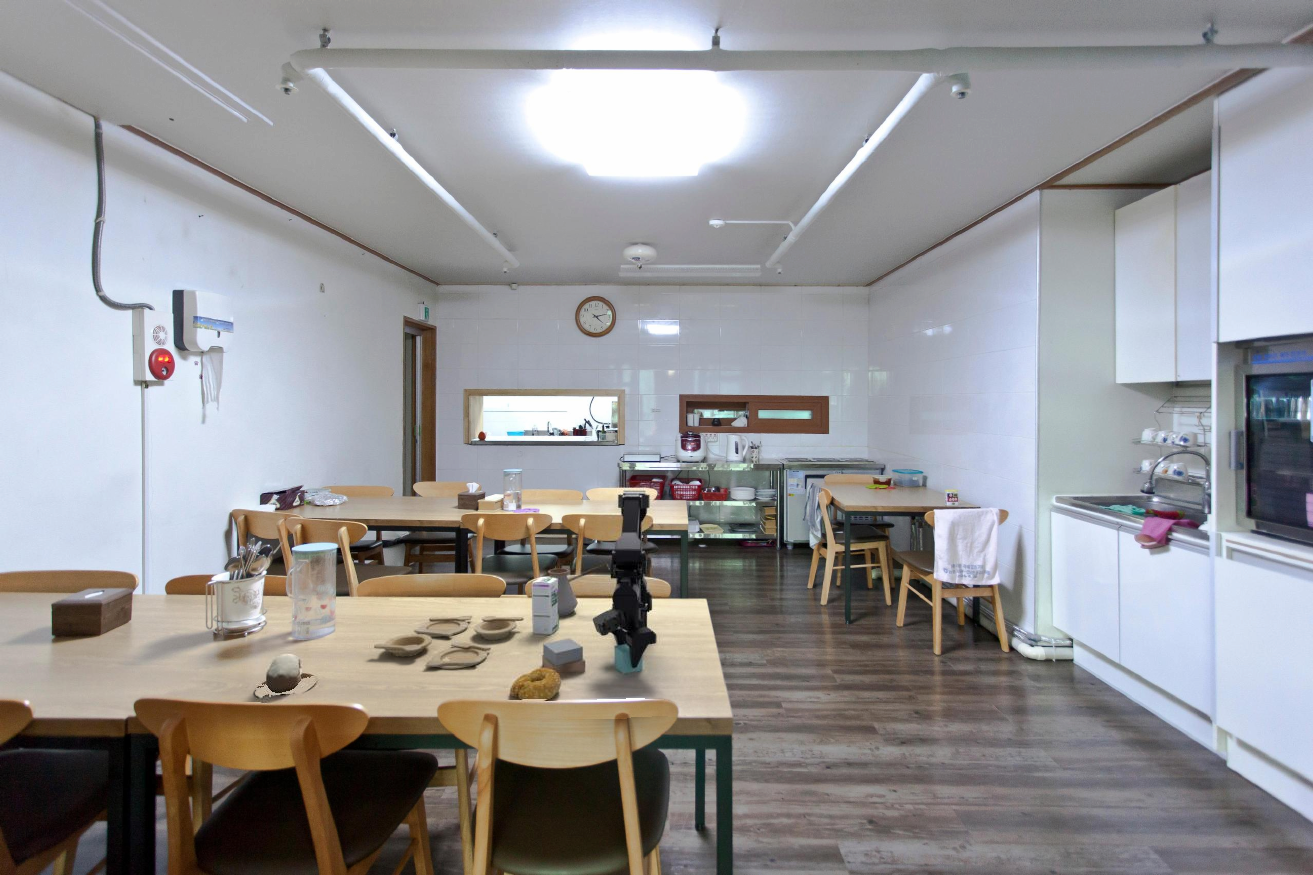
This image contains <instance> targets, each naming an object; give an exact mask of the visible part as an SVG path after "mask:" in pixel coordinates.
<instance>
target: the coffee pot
mask: <svg viewBox="0 0 1313 875" xmlns="http://www.w3.org/2000/svg"><path fill="white" fill-rule="evenodd" d="M606 567H607V569H608V570H609V571H611V567H610V565H609V564H608V563H604V564H602V565H601V564H600V565H599V566H596V567H593V568H590V569H588V570H586V571H583V572H582V573H580V574H577V575H575V576H572V577H570V578H568V574H569V573H570V570H569V569H568V568H552V569H549V570H548V571H547V573H548V574H549V577H552V578H558V611H559V617H563V616H568V615H571V613H572V612H573V611H574V610H575V609H576V608H577V606H578V603H579V602H578V599H577V597H576V595H575V592H574V590H573V588H572V586H571V583H570V582H572V581H575V580H576V579H579V578H581V577H584V576H587V575H590V574H592V573H596V572H597V571H598V570H600V569H601V570H602V569H603V568H606Z"/></svg>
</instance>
